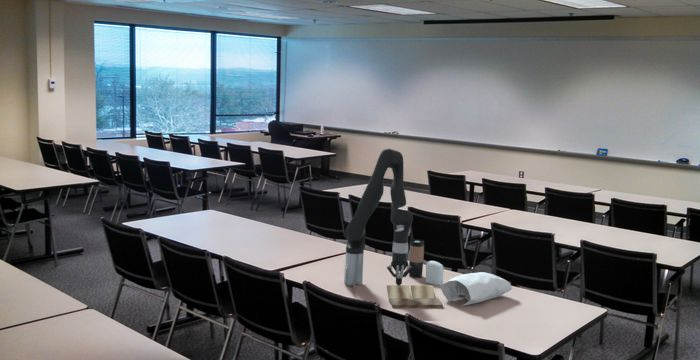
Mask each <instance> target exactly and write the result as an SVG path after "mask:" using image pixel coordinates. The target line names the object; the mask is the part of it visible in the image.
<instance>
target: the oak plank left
mask: <svg viewBox="0 0 700 360" xmlns="http://www.w3.org/2000/svg"><path fill="white" fill-rule="evenodd" d="M386 293H387V297H388V300H389V299H393V298H413V296H412V292H411V287H410V285H408V284H407V285H406V284H405V285H404V284H401V285H397V284H395V285H394V284H393V285H392V284H388V285H386Z"/></svg>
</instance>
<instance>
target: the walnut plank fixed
mask: <svg viewBox="0 0 700 360" xmlns="http://www.w3.org/2000/svg"><path fill="white" fill-rule="evenodd" d="M388 302H389V304H390V306H391V308H392V309H398V308H399V309H401V308H402V309H405V308H406V309H411V308H412V309H416V308H417V309H422V308H423V309H424V308H425V309H429V308H430V309H434V308H435V309H441V308H442V309H443V307H444V304H443V303H442V301H441V300H440V299H439V298H438V297H436V298H413V297H412V298H393V299H389V298H388Z"/></svg>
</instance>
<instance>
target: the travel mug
mask: <svg viewBox="0 0 700 360" xmlns="http://www.w3.org/2000/svg"><path fill="white" fill-rule="evenodd" d="M409 243H410V244H409V257H408V258H409V259H408V261H409V262H408V265H409V266H411V267H412V270H411V271H410V272H409V273H408V277H410V278H413V279H420V278H422V277H423V268H424V257H425V256H424V255H425V254H424V253H425V241H424V240H423V239H420V238H419V239H417V238H414V239H410V241H409Z"/></svg>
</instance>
